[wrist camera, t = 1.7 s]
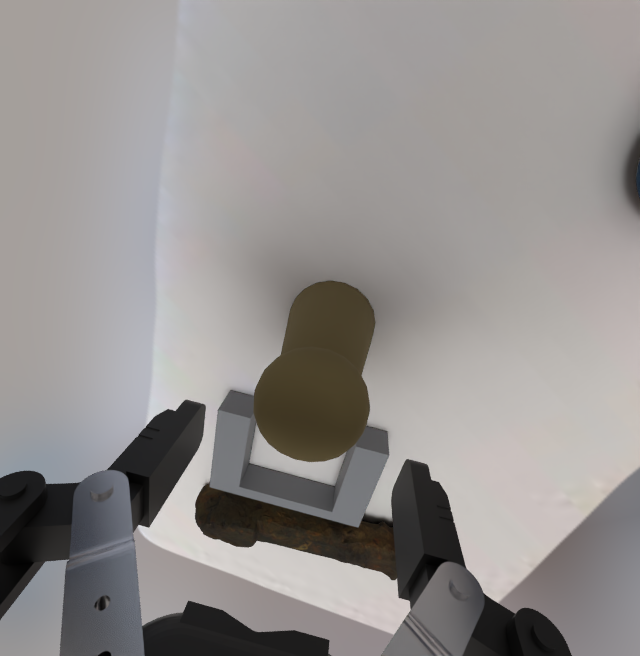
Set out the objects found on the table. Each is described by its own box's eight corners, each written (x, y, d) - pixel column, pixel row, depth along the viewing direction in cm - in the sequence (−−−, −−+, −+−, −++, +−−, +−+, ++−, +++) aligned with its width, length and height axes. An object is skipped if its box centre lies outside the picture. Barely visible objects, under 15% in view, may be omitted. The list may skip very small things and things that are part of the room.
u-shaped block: (230, 390, 27) (218, 409, 25) (387, 431, 27) (389, 455, 25) (221, 464, 31) (209, 487, 29) (358, 501, 31) (358, 527, 28)
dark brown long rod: (406, 518, 31) (413, 571, 27) (392, 544, 33) (396, 598, 29) (210, 460, 31) (185, 504, 27) (206, 489, 33) (182, 535, 29)
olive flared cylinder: (307, 368, 25) (267, 493, 15) (276, 295, 23) (207, 386, 13) (385, 348, 24) (398, 472, 14) (360, 269, 22) (353, 348, 12)
